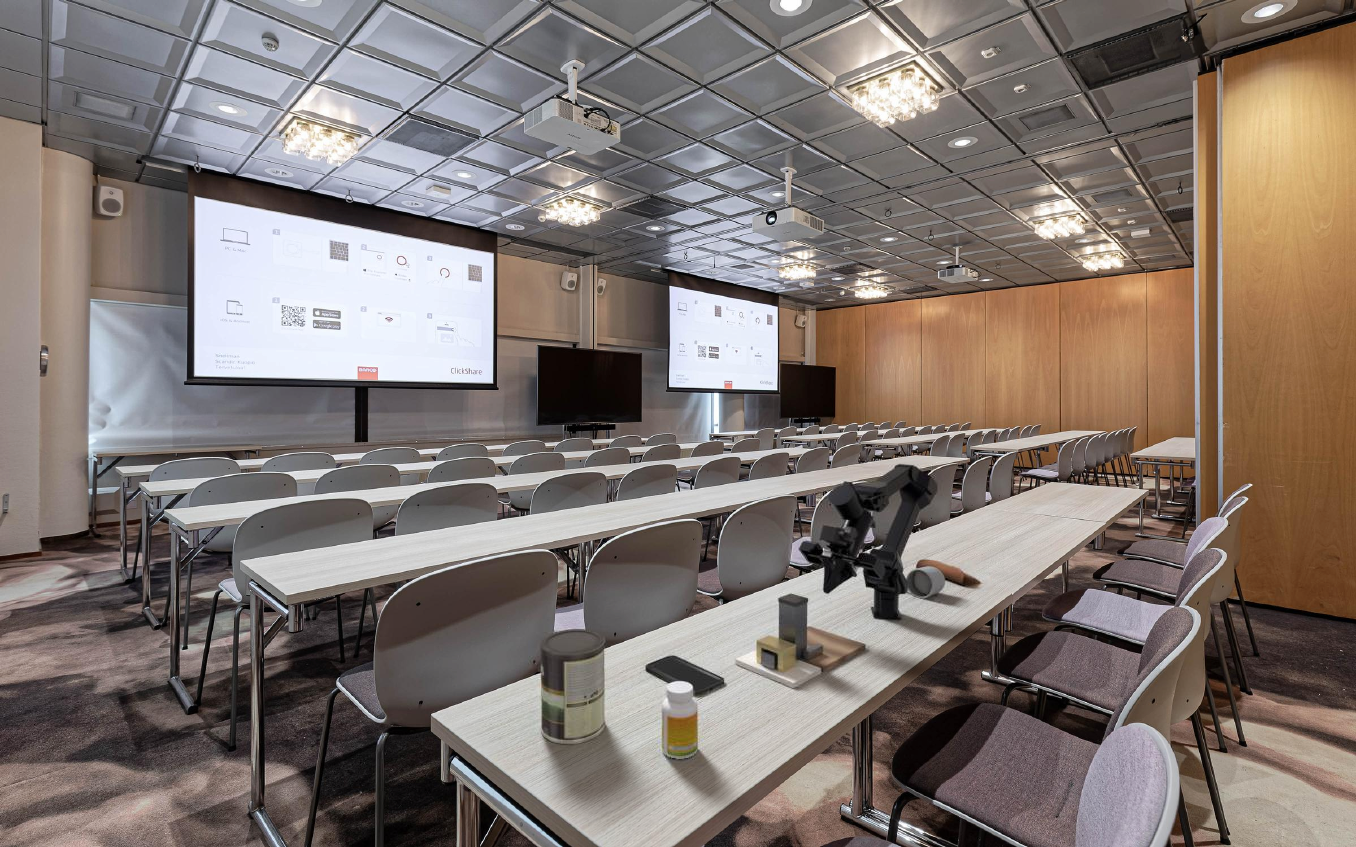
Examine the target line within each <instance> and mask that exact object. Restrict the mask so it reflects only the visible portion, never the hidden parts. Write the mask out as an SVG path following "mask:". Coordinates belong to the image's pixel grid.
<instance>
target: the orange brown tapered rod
mask: <svg viewBox="0 0 1356 847" xmlns="http://www.w3.org/2000/svg"><path fill="white" fill-rule="evenodd" d="M927 566H930V567H935V568H937V569H939V570H940V571H941V572H942V574H943V575H944V578H945V580H946V579H947V580H949V581H951V582H954V583H958V584H959V585H962V586H963V587H964V588H965V587H970V586H974V585H980V584H982V582H981V581H980V580H979V579H978V578H976V577H974V576H973V575H970V574H968V573H966V572H964V571H963V570H962V569H961V568H959V567H956V566H954V565H949V564H947V563H944V562H942V561H938V560H935V559H934V560H933V559H925V558H924V559H919V560H918V561H917V563H916V564H915V569H917V568H922V567H927Z"/></svg>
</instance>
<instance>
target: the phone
mask: <svg viewBox="0 0 1356 847" xmlns="http://www.w3.org/2000/svg"><path fill="white" fill-rule="evenodd" d="M644 671H646V672H647V673H649V674H651V675H652V676H655V677H656V678H658V679H660V680H663V681H665V682H666V683H668V684H670V683H672V682H676V681H684V682H688V683H690V684H691V685H692V686H693V697H700V696H701V697H702V696H703V695H705V694H707V693H709V692H711V691H714V690H717V689H718V688H720V687H723V686H725V678H724V677H722V676H720V675H719V674H716V673H714V672H711V671H709V670H707V669H706V668H703V667H701V666H698V665H696V664H694V663H693V662H690V661H687V660H686V659H683V658H681V657H679V656H677V655H674V654H673V655H671V654H670V655H667V656H665V657H662V658H659V659H656V660H654V661H651V662H649V663H646V664H645V669H644Z"/></svg>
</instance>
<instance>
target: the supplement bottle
mask: <svg viewBox="0 0 1356 847" xmlns="http://www.w3.org/2000/svg"><path fill="white" fill-rule="evenodd" d="M665 695H666V698H665V699H664V700H663V701H662V704H661V750H662V753H663V754H664V756H666V755H667V756H666V757H668V756H669V757H668V758H670V757H671V758H670V759H672V758H676V759H675V760H678V759H683V760H685V759H684V758H688V759H689V757H690V758H692V757H694V756H695V755H696V754H697V752H698V747H699V746H698V745H699V744H698V743H699V742H698V740H699V738H698V736H699V735H698V731H699V730H698V729H699V728H698V727H699V726H698V725H699V724H698V722H699V720H698V718H699V716H698V715H699V714H698V712H699V711H698V710H699V709H698V702H697V701H696V699H695V698H694V696H693V686H692V685H691V684H690V683H688V682H684V681H676V682H672V683H668V684H667V685H666V693H665ZM694 754H695V755H694ZM691 756H692V757H691Z"/></svg>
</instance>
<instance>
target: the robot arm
mask: <svg viewBox="0 0 1356 847" xmlns="http://www.w3.org/2000/svg"><path fill="white" fill-rule="evenodd" d="M938 489H939V488H938V483H937V481H936V480H935V479H934V478H933V477H932V475H930V474H928V473H926V472H924V471H922V470H921V469H919V467H917V466H916V465H914V464H905V463H899V464H896V465H895V466H894V467H893V468H891V470H889V471H888V472H885V474H883V475H882V476H880V477H879V478H878V479H876V480H875V481H869V482H861V483H859V484H856V485H854V483H853V481H846V480H845V481H843V482H842V484H840V485H837V486H836V487H834V488H833V489H832V490H830V491H829V493H828V496H827V497H828V498H827V499H828V501H829V503H830V505H831V506H832V507H833V509H834V510H835V512H836V514H837V516H839V518H840V519H841V520H843V522H842V524H841V527H839V526H830V525H824V524H823V525H821V530H820V534H819V538H818V539H819V541H824V542H826V543H825V546H826V548H827V549H825V548H823V547H822V546H821V544H820V543H818V542H815V541H810V540H803V541H802V542H800V545H799V547H798V551H799V552H800V553H801V555H802V556H803V557H804V558H805V561H807V563H810V564H812V565H816V566H822V565H823V583H822V584H823V585H822V586H823V587H822V591H823V594H827V595H829V594H830V593H831V592H833V591H834V590H835V589H836V588H838V587H839V586H841V585H842V584H843V583H845V582H846V581H848V580H850V579H851V578H857V577H858V574H857V571H859V570H858V569H860V568H862V574H863V578H864V585H865V588H867V589H868V588H869V589H873V606H871V607H870V610H871V614H872V617H873V618H876V619H891V620H902V618H903V617H902V614H901V612H900V609H899V598H900V596H899V595H906V594H907V592H908V581H907V579H906V576H905V574H904V566H903V561H902V556H903V553H904V550H905V548H906V546H907V544H908V541H909V539H910V536H911V534H912V531H913V529H914V526H915V524H916V522H917V519H918V516H919V515H920V514H919V513H920V512H921V511H922V510H923V509H924V508H926V507H927V506H929V505H930V504H931V503H932V501H933V500H934V498H935V496H936V495H937V493H938ZM898 491H899V495H900V499H901V502H900V503H899V506H898V508H897V511H896V514H895V516H894V518H893V520H892V523H891V525H890V526H889V529H888V532H887V534H886V537H885V539H884V541H883V543H882V546H881V547H880V548H879V549H878V548H875V547H874V548H872V549H871V550H870V551H869V553H868V552H863V551H862V552H860V551H861V549H862V550H865V549H866V545H867V544H866V543H865V540H866V538H867V535H868V533H869V531H870V529H876V527H877V526H876V522H875V519H874V516H873V515H872V514H871V513H870V512H875V513H881V512H883V511H884V510H885V509H886V508H887V506H888V505H889V504H890V497H891V496H893V495H894V494H896V493H897V492H898Z"/></svg>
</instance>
